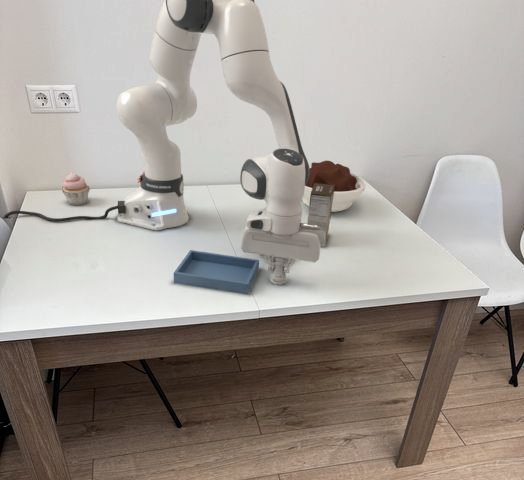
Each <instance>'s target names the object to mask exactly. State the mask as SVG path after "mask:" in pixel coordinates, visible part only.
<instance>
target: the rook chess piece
mask: <svg viewBox="0 0 524 480" xmlns="http://www.w3.org/2000/svg"><path fill="white" fill-rule="evenodd" d="M274 259H275V260H274ZM286 260H287V258H281V257H274V256H273V261H274V263H275V267H274V271H271V273H270V276H269V281H270V282H271V283H272V284H273V285H276V286H281V285H285V283H287V275H286V274H287V273H284V266H285V264H286V262H285V261H286Z"/></svg>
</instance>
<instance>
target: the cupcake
mask: <svg viewBox="0 0 524 480" xmlns="http://www.w3.org/2000/svg"><path fill="white" fill-rule="evenodd" d="M90 187H91V186H90V185H88V183H87V182H86V180H85V178H84V177H82V175H81V176H80V175H78V174H77V173H75V172H74V171H71V172H70V173H69V174H68V175H67V176H66V177H65V179H64V181H63V182H62V186H61V187H60V191H61V192H62V193H63V195H64V197H65V199H66V201H67V203H68V204H69V205H71V206H82V205H85V204H87V203H88V201H89V192H90V190H91V188H90Z"/></svg>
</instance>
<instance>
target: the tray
mask: <svg viewBox="0 0 524 480" xmlns="http://www.w3.org/2000/svg"><path fill="white" fill-rule="evenodd" d="M259 270H260V259H256V258H248V257H243V256H242V257H241V256H236V255H235V256H234V255H227V254H220V253H213V252H206V251H201V250H200V251H199V250H193V249H190V250H188V252H187V254H186V255H185V257H184V258H183V259H182V260H181V262H180V263H179V265H178V266H177V267H176V269H175V270H174V271H173V283H174V284H177V285H185V286H191V287H197V288H203V289H204V288H205V289H210V290H217V291H223V292H229V293H236V294H243V295H249V292H250V291H251V289H252V286H253V284H254V282H255V279H256V277H257V275H258V273H259Z"/></svg>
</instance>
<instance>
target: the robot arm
mask: <svg viewBox="0 0 524 480" xmlns="http://www.w3.org/2000/svg"><path fill="white" fill-rule="evenodd" d="M156 19H157V20H156V24H155V26H154V31H153V36H152V40H151V44H150V48H149V53H148V59H149V63H150V66H151V67H152V69H153V70H154V72H155V73H156V74H157V78H156V80H155V82H154V83H152V84H144V85H138V86H134V87H131V88H129V89H127V90H125V91H122V92H121V93H120V94H119V95H118V97H117V100H116V113H117V117H118V118H119V120H120V122H121V123H122V125H123V126H124V127H125V128H126V129H128V130H129V131H131V133H132V134H133V135H134V136H135V138H136V140H137V141H138V143H139V144H138V145H139V146H140V149H141V154H142V161H143V170H144V171H143V172H142V174H140V175H139V177H138V178H137V183H138V184H139V183H140V184H139V186H138V187H137V188H135V189H134V190H133V191H132V192H130V193H129V194H128V195H127V196H126V198H125V200H117V205H116V206H111V207H109V208H107V209H106V210H105V211H104V214H103V215H101V216H87V215H77V216H68V217H60V218H55V217H54V218H53V217H49V216H47V215H44V214H42V213H39V212H35V211H25V210H11V211H9V212H7V213H6V214H4V215H3V216H2V218H3V219H7V218H8V217H10V216H12V215H28V216H34V217H35V216H36V217H38V218H41V219H43V220H46V221H48V222H67V221H74V220H91V221H92V220H93V221H94V220H104V219H106V218H107V217H108V215H109V213H110V212H112V211H114V210H117V216H116V217H117V218H116V219H117V222H120V223H123V224H127V225H131V226H136V227H140V228H143V229H147V230H152V231H162V230H165V229H169V228H177V227H180V226H183V225H185V224H186V223H188V222H189V219H190V218H189V215H188V212H187V207H186V204H185V197H184V193H185V182H184V175H183V173H182V158H181V156H182V154H181V150H180V147H179V145H177V144H176V143H175V142H174V141H172V140H171V139H169V137H168V133H167V127H169V126H173V125H178V124H181V123H184V122H185V121H187V120H189V119H191V118H192V117H194V115H195V114H196V112H197V108H198V99H197V96H196V93H195V91H194V89H193V87H191V72H192V68H193V64H194V61H195V58H196V54H197V50H198V47H199V44H200V41H201V36H202V34H208V35H214V36H215V38H216V39H217V43H218V45H219V46H218V47H219V53H220V55H219V56H220V61H221V68H222V73H223V78H224V81H225V84H226V87H227V88H228V90H229V91H230V92H231V93H232V94H233V95H234V96H235V97H236V98H237V99H239V100H241V101H242V102H245V103H247V104H250V105H253V106H255V107H257V108H259V109H261V110H262V111H264V112H265V113H266V114H267V116H268V117H269V119H270V121H271V124H272V126H273V127H272V129H273V131H274V134H275V138H276V143H277V146H278V148H277V149H275V150H273V151H272V152H271V153H270V154H269V153H268V154H267V155H259V156H254V157H251V158H248V159H246V160H245V162H244V163H243V164H242V167H241V170H240V177H239V178H240V180H239V181H240V186H241V188H242V190H243V191H244V193H245V194H246V195H247V196H249V197H250V198H252V199H255V200H259V201H265V203H266V204H265V208H261V209H257V210H253V211H252V212H250V213H249V215H248V217H247V219H246V221H245V222H246V223H245V225H246V226H245V228H244V229H243V232H242V235H241V241H240V249H241V251H242V252H243V253H246V254H252V255H253V254H254V255H261V256H264V260H265V263H266V264H267V271H270V272H273V271H274V267H275V263H274V262H273V261H272V259H271V257H273V258H274V257H281V258H286V259H287V260H288V263H285V264H284V273H285V274H290V271H291V267H292V266H293V265H294V264H295V262H296V261H302V262H309V263H316V262H318V261H319V260H320V256H321V247H322V246H321V242H322V241H323V238H324V231H323V229H322V228H320V227H319V226H318V225H309V224H307V223H304V222H302V215H303V206H302V197H303V195H304V189H305V185H306V184H307V181H308V179H309V175H310V168H311V167H310V164H309V161H308V159H307V156H306V154H305V152H304V149H303V146H302V141H301V138H300V134H299V130H298V126H297V122H296V119H295V118H296V117H295V115H294V111H293V107H292V102H291V99H290V96H289V93H288V91H287V88H286V86H285V84H284V83H283V82H282V81H281V80H280V79H279V77H278V76H277V74H276V72H275V70H274V67H273V64H272V60H271V56H270V51H269V43H268V37H267V34H266V29H265V25H264V21H263V17H262V14H261V12H260V9H259V6H258V5H257V4H256V2H255V0H163V2H162V4H161V7H160V10H159V12H158V16H157V18H156ZM318 229H320V230H318Z"/></svg>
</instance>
